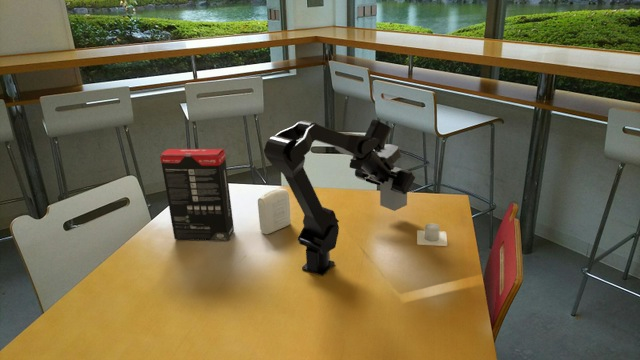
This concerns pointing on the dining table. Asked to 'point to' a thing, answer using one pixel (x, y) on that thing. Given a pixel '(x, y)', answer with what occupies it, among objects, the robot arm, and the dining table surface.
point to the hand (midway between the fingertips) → (396, 188)
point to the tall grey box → (392, 195)
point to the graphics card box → (198, 194)
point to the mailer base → (424, 242)
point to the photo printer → (274, 210)
